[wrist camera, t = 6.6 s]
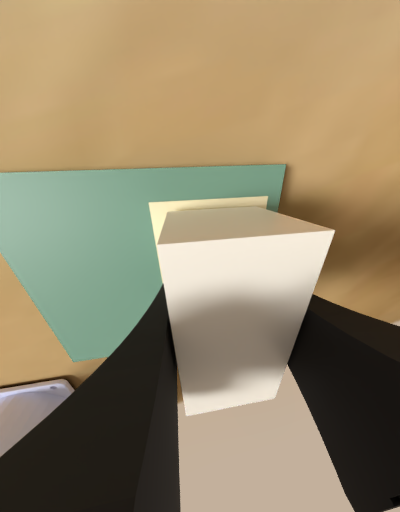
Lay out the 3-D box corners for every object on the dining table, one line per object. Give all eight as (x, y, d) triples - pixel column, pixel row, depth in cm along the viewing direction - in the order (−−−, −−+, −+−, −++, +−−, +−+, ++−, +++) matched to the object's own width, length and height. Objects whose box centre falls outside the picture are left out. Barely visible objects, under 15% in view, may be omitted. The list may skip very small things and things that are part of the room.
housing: (182, 334, 12) (186, 416, 7) (167, 211, 8) (157, 244, 4) (241, 325, 12) (274, 398, 8) (256, 206, 8) (335, 230, 4)
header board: (81, 347, 13) (48, 405, 10) (-19, 175, 7) (-185, 169, 4) (249, 322, 15) (271, 365, 11) (273, 166, 9) (331, 157, 6)
